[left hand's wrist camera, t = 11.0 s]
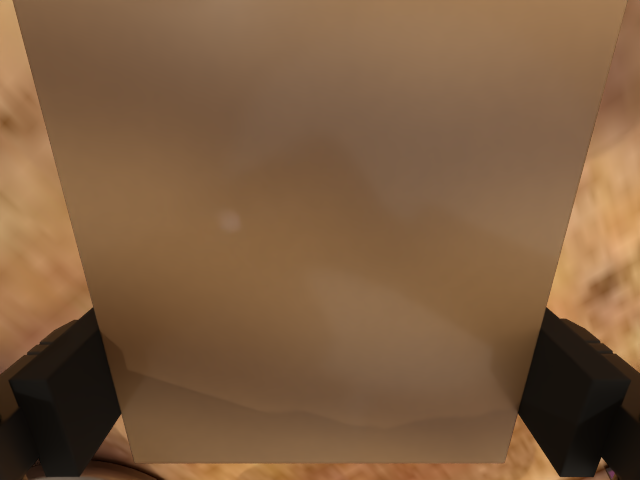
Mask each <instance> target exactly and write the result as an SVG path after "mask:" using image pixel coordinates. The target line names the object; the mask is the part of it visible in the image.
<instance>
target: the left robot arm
mask: <svg viewBox="0 0 640 480" xmlns="http://www.w3.org/2000/svg"><path fill="white" fill-rule="evenodd" d="M518 414H519V415H520V417H521V418H522V420H523V422H524V423H525V425H526V426H527V428H528V429H529V431H530V432H531V434H532V435H533V437H534V438H535V440H536V441H537V443H538V444H539V446H540V447H541V449H542V450H543V452H544V453H545V455H546V456H547V458H548V459H549V461H550V463H551V464H552V466H553V467H554V469H555V470H556V472H557V473H558V475H559V476H560V477H594V475H595V472H596V470H597V467H598V464H599V462H600V459H601V457H602V458H603V459H604V461H605V462H606V463H607V464H608V465H609V467H610V468H611V469H612V470H613V472H614V473H615V474H614V476H613V478H612V480H640V373H639V372H638V371H636V370H635V369H634V368H633V367H631V366H630V365H629V364H628V363H627V362H625V361H624V360H623V359H622V358H620V357H619V356H618V355H617V354H613V351H612V350H611V349H609V348H608V347H607V346H606V345H604V344H603V343H600V340H598V339H597V338H596V337H595V336H593V335H592V334H591V333H590V332H588V331H587V330H586V329H585V328H583V327H581V326H579V325H577V324H575V323H573V322H571V321H569V320H567V319H559V318H558V317H557V316H556V315H555V314H554V313H552V312H551V311H550V310H549V309H548V308H547V307H546V309H545V313H544V317H543V321H542V324H541V328H540V332H539V336H538V339H537V343H536V347H535V351H534V354H533V358H532V362H531V366H530V369H529V373H528V377H527V381H526V384H525V388H524V392H523V396H522V399H521V403H520V407H519V411H518ZM120 415H121V410H120V406H119V402H118V399H117V395H116V391H115V387H114V383H113V380H112V376H111V372H110V368H109V364H108V361H107V357H106V353H105V349H104V345H103V342H102V338H101V334H100V330H99V326H98V323H97V319H96V315H95V311H94V307H93V308H92V309H91V310H89V311H88V312H87V313H86V314H85V315H84V316H82V317H81V318H80V319H79V320H73V321H71V322H69V323H67V324H65V325H64V326H62V327H60V328H58V329H56V330H54V331H53V332H52V333H51V334H49V335H48V336H47V337H46V338H44V339H43V340H42V341H41V342H40V344H39V345H36V346H35V347H34V348H32V349H31V350H30V351H29V352H27V355H24V356H23V357H21V358H20V359H19V360H18V361H16V362H15V363H14V364H13V365H12V366H10V367H9V368H8V369H7V370H6V371H4V372H3V373H2V374H1V375H0V480H157V479H155V478H153V477H151V476H149V475H147V474H144V473H142V472H139V471H137V470H134V469H131V468H128V467H124V466H121V465H117V464H112V463H107V462H100V461H91V459H92V457H93V456H94V454H95V453H96V451H97V450H98V448H99V447H100V445H101V444H102V442H103V441H104V439H105V438H106V436H107V435H108V433H109V432H110V430H111V429H112V427H113V425H114V424H115V422H116V421H117V419H118V418H119V416H120ZM38 458H39V461H40V463H41V465H37V466H34V467H32V466H33V465H34V463H35V462H36V461H37V460H38Z"/></svg>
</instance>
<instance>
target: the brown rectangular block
mask: <svg viewBox="0 0 640 480" xmlns="http://www.w3.org/2000/svg"><path fill="white" fill-rule="evenodd" d="M627 2H628V0H13V3H14V7H15V11H16V15H17V19H18V22H19V26H20V30H21V34H22V38H23V41H24V45H25V49H26V53H27V57H28V60H29V64H30V68H31V72H32V76H33V79H34V83H35V87H36V91H37V95H38V98H39V102H40V106H41V110H42V114H43V117H44V121H45V125H46V129H47V133H48V136H49V140H50V144H51V148H52V152H53V155H54V159H55V163H56V167H57V171H58V174H59V178H60V182H61V186H62V190H63V193H64V197H65V201H66V205H67V209H68V212H69V216H70V220H71V224H72V228H73V231H74V235H75V239H76V243H77V247H78V250H79V254H80V258H81V262H82V266H83V269H84V273H85V277H86V281H87V285H88V288H89V292H90V296H91V300H92V304H93V307H94V311H95V315H96V319H97V323H98V326H99V330H100V334H101V338H102V342H103V345H104V349H105V353H106V357H107V361H108V364H109V368H110V372H111V376H112V380H113V383H114V387H115V391H116V395H117V399H118V402H119V406H120V410H121V414H122V418H123V421H124V425H125V429H126V433H127V437H128V440H129V444H130V448H131V452H132V456H133V459H134V463H505V459H506V456H507V452H508V448H509V444H510V441H511V437H512V433H513V429H514V426H515V422H516V418H517V414H518V411H519V407H520V403H521V399H522V396H523V392H524V388H525V384H526V381H527V377H528V373H529V369H530V366H531V362H532V358H533V354H534V351H535V347H536V343H537V339H538V336H539V332H540V328H541V324H542V321H543V317H544V313H545V309H546V306H547V302H548V298H549V294H550V290H551V287H552V283H553V279H554V275H555V272H556V268H557V264H558V260H559V257H560V253H561V249H562V245H563V242H564V238H565V234H566V230H567V227H568V223H569V219H570V215H571V212H572V208H573V204H574V200H575V197H576V193H577V189H578V185H579V182H580V178H581V174H582V170H583V167H584V163H585V159H586V155H587V152H588V148H589V144H590V140H591V137H592V133H593V129H594V125H595V122H596V118H597V114H598V110H599V107H600V103H601V99H602V95H603V92H604V88H605V84H606V80H607V77H608V73H609V69H610V65H611V62H612V58H613V54H614V50H615V47H616V43H617V39H618V35H619V32H620V28H621V24H622V20H623V17H624V13H625V9H626V5H627Z"/></svg>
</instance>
